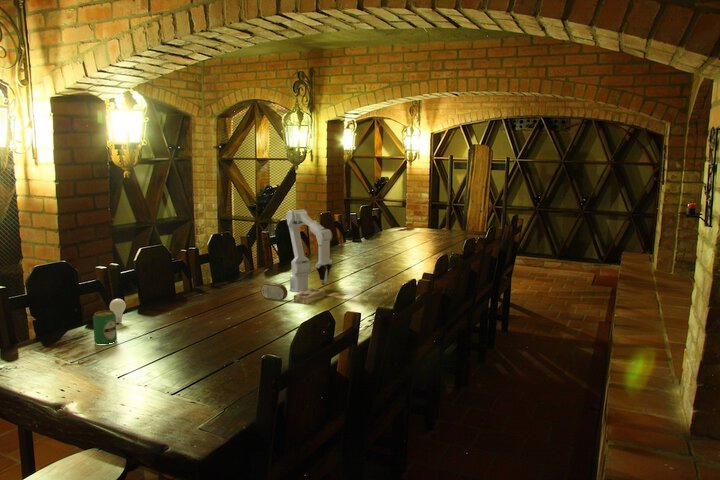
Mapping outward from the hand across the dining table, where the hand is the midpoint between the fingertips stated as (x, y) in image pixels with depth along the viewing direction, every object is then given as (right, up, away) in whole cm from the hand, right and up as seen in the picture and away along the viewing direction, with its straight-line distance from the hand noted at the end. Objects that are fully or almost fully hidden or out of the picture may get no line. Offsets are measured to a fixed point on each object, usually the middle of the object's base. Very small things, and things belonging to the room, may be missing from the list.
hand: (323, 279), depth 283 cm
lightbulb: (-86, -16, -45) cm, 98 cm away
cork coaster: (+7, -9, +7) cm, 13 cm away
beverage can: (-81, -20, -68) cm, 108 cm away
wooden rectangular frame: (-7, -10, -1) cm, 13 cm away
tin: (-26, -10, -2) cm, 28 cm away
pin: (0, -3, 0) cm, 3 cm away
